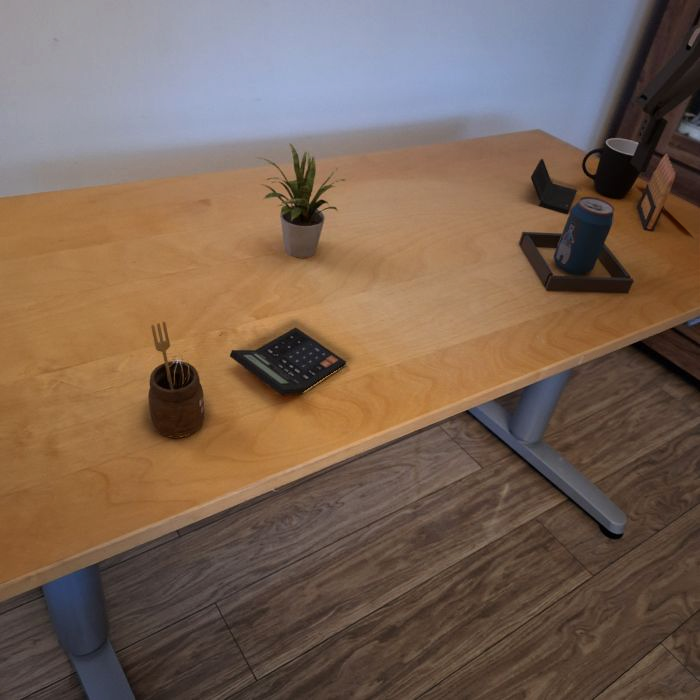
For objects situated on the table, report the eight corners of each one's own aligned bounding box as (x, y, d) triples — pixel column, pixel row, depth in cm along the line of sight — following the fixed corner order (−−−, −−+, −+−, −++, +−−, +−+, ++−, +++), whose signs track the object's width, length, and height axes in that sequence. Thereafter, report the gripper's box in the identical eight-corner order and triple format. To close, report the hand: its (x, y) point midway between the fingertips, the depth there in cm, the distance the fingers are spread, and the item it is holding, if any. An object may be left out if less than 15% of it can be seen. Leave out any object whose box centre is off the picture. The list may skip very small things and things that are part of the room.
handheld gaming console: (581, 208, 122) (563, 162, 119) (545, 223, 125) (527, 178, 122) (577, 192, 132) (561, 149, 128) (544, 206, 135) (527, 164, 131)
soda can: (596, 266, 109) (623, 204, 101) (584, 283, 104) (612, 219, 96) (558, 252, 111) (582, 190, 103) (545, 267, 106) (569, 204, 99)
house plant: (239, 231, 104) (239, 136, 94) (314, 219, 110) (321, 129, 100) (271, 276, 95) (274, 177, 85) (350, 261, 101) (362, 167, 90)
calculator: (345, 366, 81) (347, 349, 79) (280, 409, 74) (281, 391, 72) (295, 332, 86) (296, 314, 84) (229, 369, 79) (229, 351, 77)
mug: (629, 188, 137) (649, 144, 130) (630, 205, 130) (651, 159, 123) (575, 175, 139) (591, 131, 132) (573, 191, 132) (590, 145, 125)
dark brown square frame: (593, 246, 114) (598, 234, 113) (628, 292, 103) (634, 280, 102) (518, 243, 112) (522, 231, 110) (546, 290, 101) (551, 277, 99)
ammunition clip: (653, 231, 122) (680, 174, 114) (643, 229, 122) (670, 172, 114) (645, 207, 130) (671, 152, 122) (636, 205, 130) (661, 151, 122)
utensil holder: (164, 447, 68) (154, 366, 60) (142, 411, 72) (130, 331, 64) (214, 427, 71) (210, 348, 63) (190, 393, 74) (184, 314, 67)
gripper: (851, -11, 71) (753, 164, 85) (654, -34, 68) (585, 152, 81) (901, 5, 66) (788, 189, 80) (689, -21, 62) (608, 177, 76)
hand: (685, 171), depth 80 cm, fingers open, 13 cm apart
